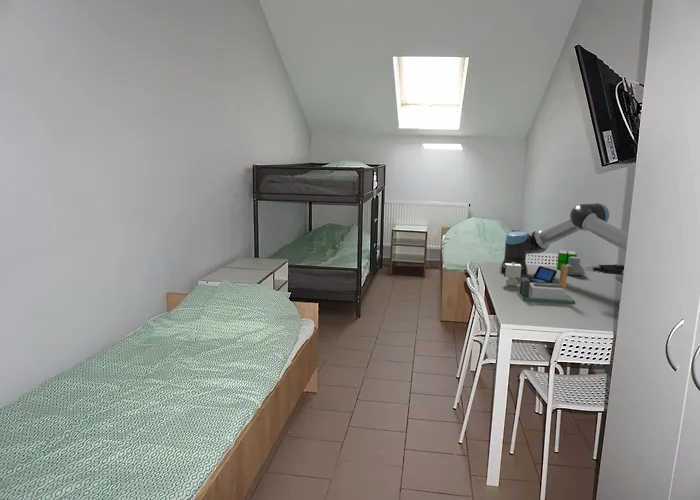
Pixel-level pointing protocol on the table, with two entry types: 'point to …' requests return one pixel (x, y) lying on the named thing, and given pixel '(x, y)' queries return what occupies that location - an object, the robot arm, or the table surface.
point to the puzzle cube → (564, 257)
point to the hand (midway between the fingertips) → (585, 268)
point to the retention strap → (562, 279)
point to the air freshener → (574, 266)
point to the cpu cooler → (543, 293)
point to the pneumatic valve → (512, 272)
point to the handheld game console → (543, 275)
